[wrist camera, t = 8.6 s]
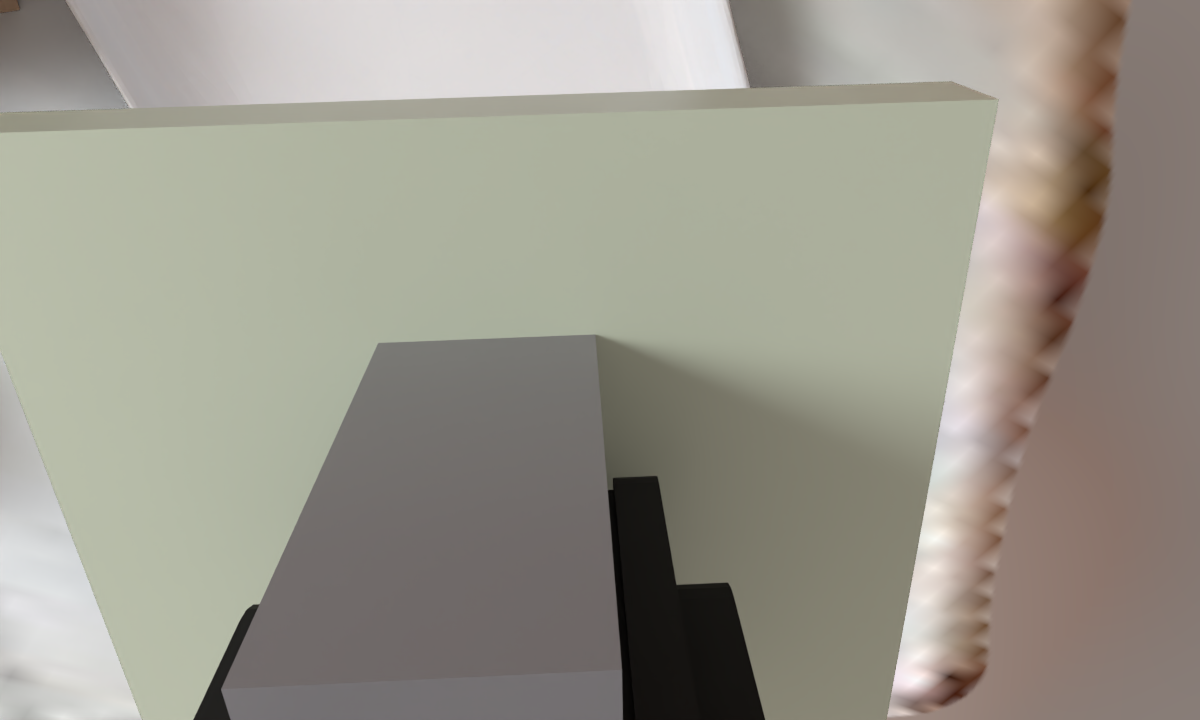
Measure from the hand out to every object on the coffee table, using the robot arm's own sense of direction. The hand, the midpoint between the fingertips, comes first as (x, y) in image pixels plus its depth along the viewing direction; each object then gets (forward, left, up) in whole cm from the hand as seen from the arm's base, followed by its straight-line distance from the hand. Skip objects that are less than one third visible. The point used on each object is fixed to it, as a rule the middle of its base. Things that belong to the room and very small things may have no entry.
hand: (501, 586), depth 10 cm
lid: (0, 0, -2) cm, 2 cm away
